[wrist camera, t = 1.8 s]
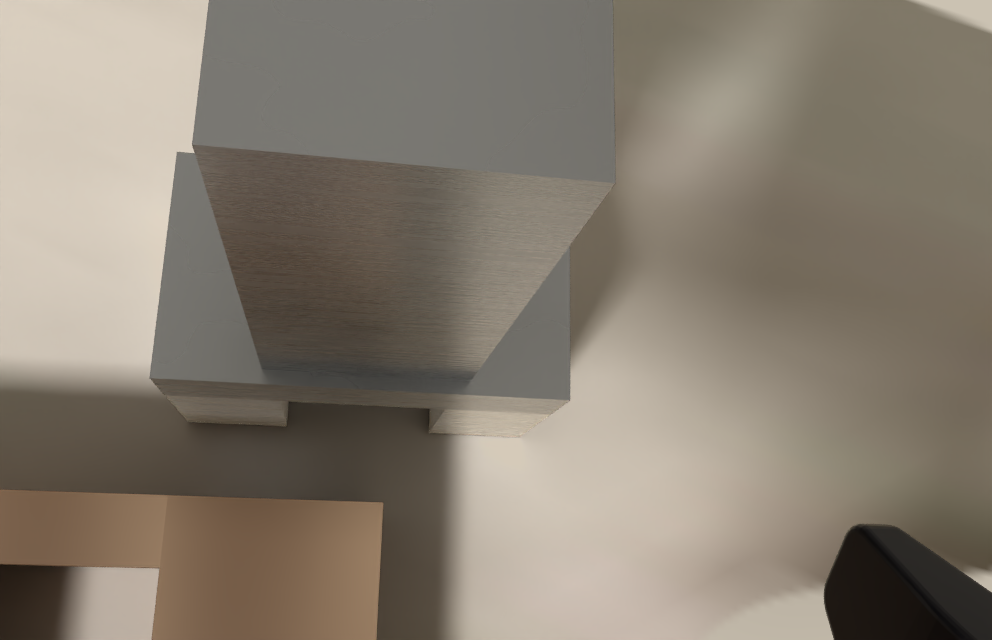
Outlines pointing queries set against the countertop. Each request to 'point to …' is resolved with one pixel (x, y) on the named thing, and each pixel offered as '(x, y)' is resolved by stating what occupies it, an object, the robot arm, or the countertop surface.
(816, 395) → the countertop surface
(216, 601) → the rail
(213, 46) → the grey tower on plinth
